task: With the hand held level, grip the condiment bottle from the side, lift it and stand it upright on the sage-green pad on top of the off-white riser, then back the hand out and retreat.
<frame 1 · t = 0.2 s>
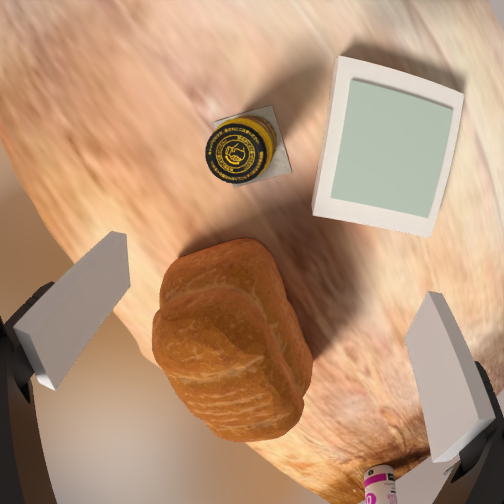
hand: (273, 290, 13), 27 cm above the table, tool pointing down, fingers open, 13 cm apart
condiment: (252, 146, 37), on the table
riser: (384, 145, 35), on the table
supplement can: (378, 469, 68), on the table
bread: (246, 317, 48), on the table
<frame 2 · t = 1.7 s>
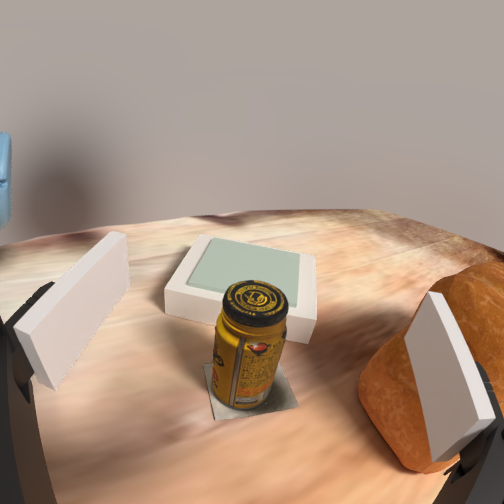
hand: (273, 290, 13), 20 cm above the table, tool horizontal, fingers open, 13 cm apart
condiment: (248, 388, 31), on the table
riser: (245, 294, 45), on the table
bread: (449, 396, 31), on the table
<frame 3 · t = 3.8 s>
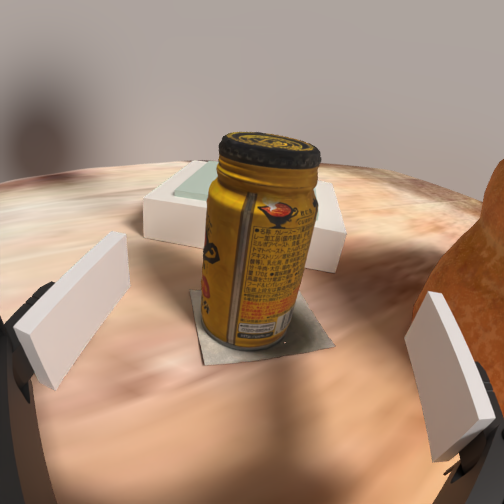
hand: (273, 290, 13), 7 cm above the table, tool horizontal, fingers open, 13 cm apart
condiment: (257, 322, 22), on the table
riser: (248, 221, 35), on the table
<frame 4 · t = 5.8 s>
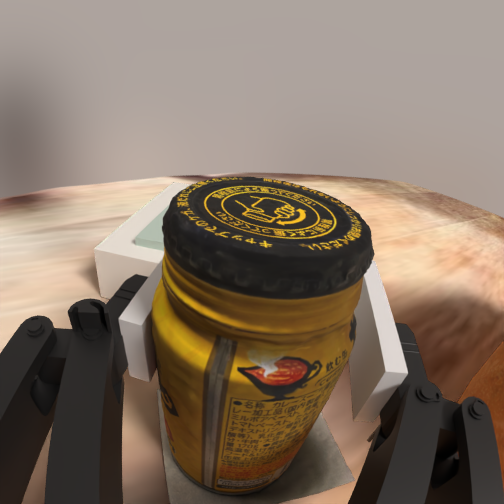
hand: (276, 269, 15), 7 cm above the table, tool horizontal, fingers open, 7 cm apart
condiment: (249, 444, 14), on the table, touching gripper
riser: (240, 268, 27), on the table
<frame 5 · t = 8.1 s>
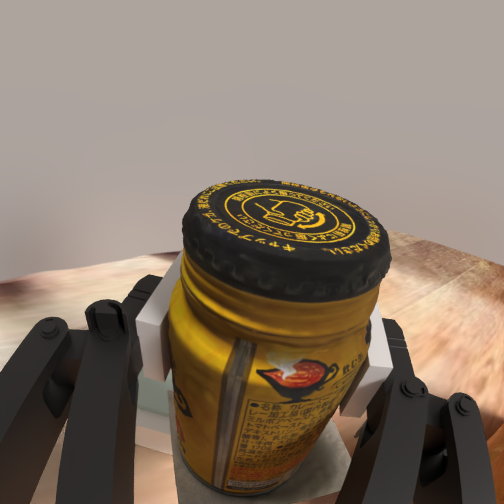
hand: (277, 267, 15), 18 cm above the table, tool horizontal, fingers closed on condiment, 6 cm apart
condiment: (258, 445, 14), point 11 cm above the table, touching gripper
riser: (215, 393, 28), on the table
when the fingers open (13 cm above the table, at t = 10.4 s): condiment drops 1 cm, resting on riser.
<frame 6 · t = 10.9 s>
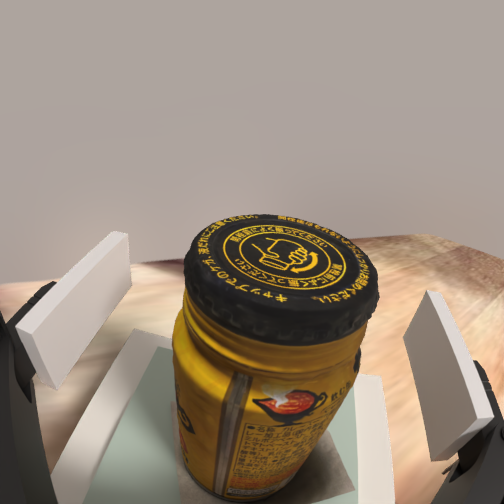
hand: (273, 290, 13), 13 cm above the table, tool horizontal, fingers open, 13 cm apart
condiment: (257, 454, 14), point 4 cm above the table, touching riser
riser: (231, 477, 17), on the table
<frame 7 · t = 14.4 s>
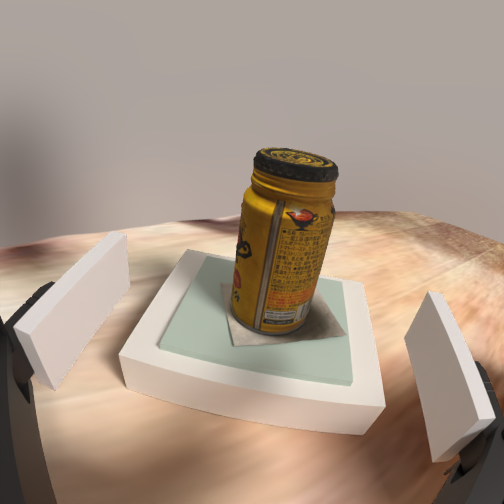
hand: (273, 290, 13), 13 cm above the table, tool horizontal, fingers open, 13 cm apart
condiment: (279, 312, 25), point 4 cm above the table, touching riser
riser: (258, 348, 27), on the table
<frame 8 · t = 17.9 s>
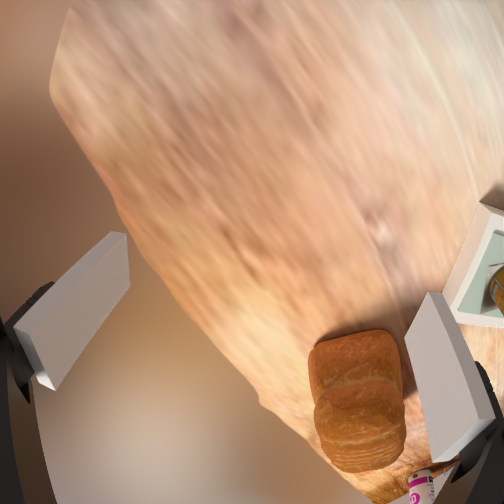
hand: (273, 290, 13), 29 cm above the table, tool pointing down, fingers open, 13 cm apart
condiment: (501, 285, 37), point 4 cm above the table, touching riser
riser: (491, 265, 40), on the table
supplement can: (419, 472, 76), on the table
bread: (359, 377, 55), on the table
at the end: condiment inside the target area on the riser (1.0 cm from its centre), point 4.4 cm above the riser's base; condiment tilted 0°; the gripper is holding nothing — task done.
